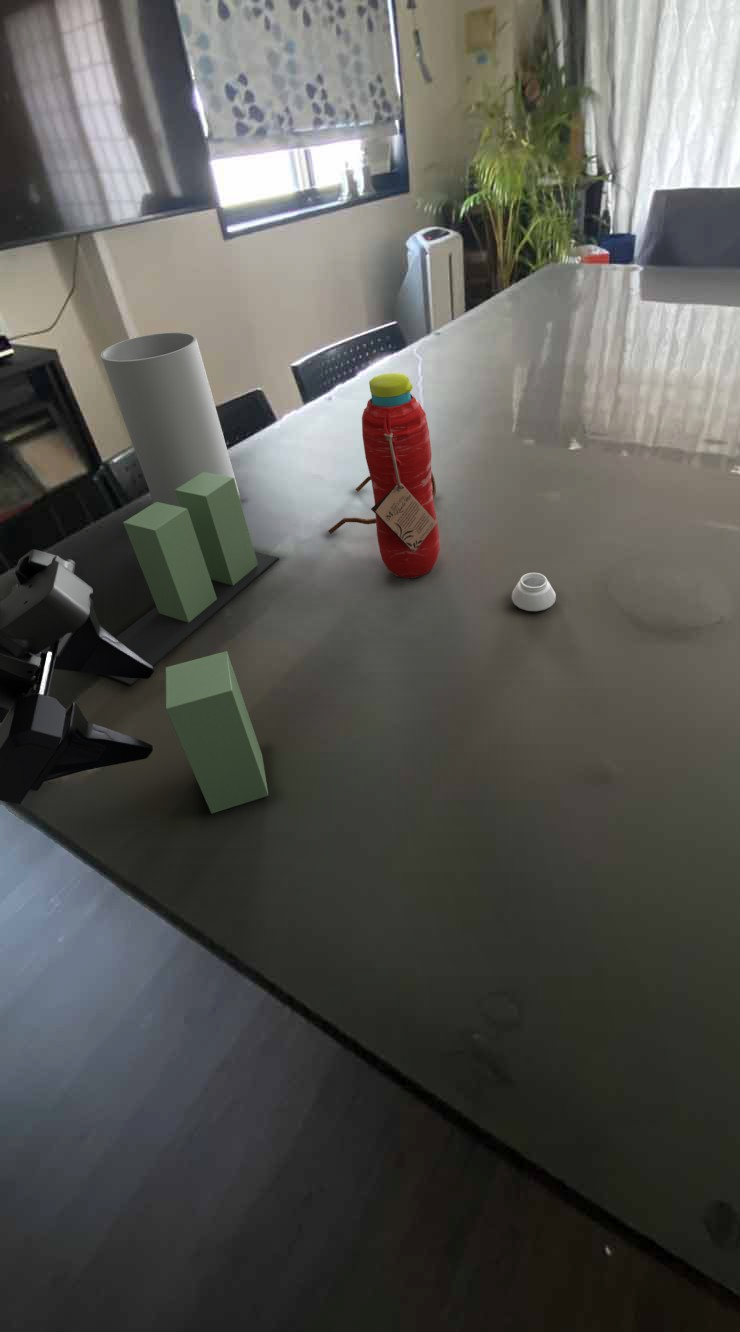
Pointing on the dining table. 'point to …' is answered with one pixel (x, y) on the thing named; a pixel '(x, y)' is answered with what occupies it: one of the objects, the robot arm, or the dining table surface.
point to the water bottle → (400, 476)
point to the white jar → (533, 593)
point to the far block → (219, 526)
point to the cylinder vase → (167, 410)
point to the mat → (180, 621)
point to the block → (215, 731)
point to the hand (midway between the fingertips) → (151, 710)
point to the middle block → (171, 560)
